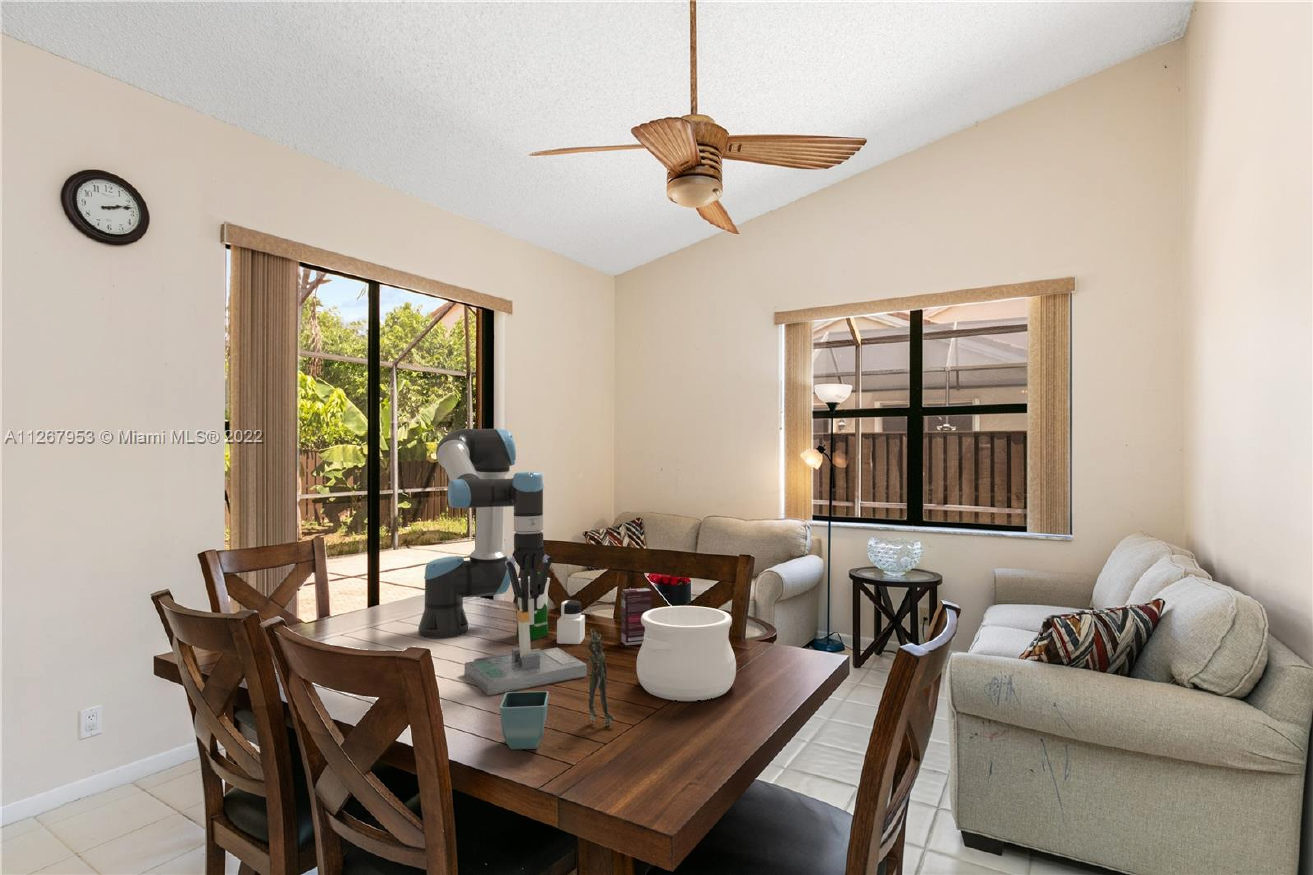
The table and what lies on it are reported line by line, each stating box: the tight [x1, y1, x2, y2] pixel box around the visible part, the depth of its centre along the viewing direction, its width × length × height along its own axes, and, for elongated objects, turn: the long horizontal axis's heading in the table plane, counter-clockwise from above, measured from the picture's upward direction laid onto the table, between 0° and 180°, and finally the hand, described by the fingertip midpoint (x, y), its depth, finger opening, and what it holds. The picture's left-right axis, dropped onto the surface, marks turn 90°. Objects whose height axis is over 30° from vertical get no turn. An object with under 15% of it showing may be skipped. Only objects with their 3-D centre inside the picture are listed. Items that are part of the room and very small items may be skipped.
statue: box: [588, 628, 616, 727], centre depth 145 cm, size 5×6×20 cm
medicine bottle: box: [556, 599, 586, 645], centre depth 210 cm, size 7×7×12 cm
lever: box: [516, 610, 532, 659], centre depth 178 cm, size 4×2×13 cm, turn 33°
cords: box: [473, 648, 542, 661], centre depth 187 cm, size 5×21×3 cm, turn 123°
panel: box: [464, 647, 588, 696], centre depth 178 cm, size 18×26×6 cm
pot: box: [635, 605, 737, 702], centre depth 170 cm, size 26×24×18 cm
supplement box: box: [620, 587, 653, 646], centre depth 209 cm, size 9×5×16 cm, turn 110°
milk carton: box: [515, 570, 551, 641], centre depth 215 cm, size 9×9×20 cm
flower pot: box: [499, 690, 550, 750], centre depth 136 cm, size 9×9×9 cm
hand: (529, 623), depth 178 cm, fingers closed
